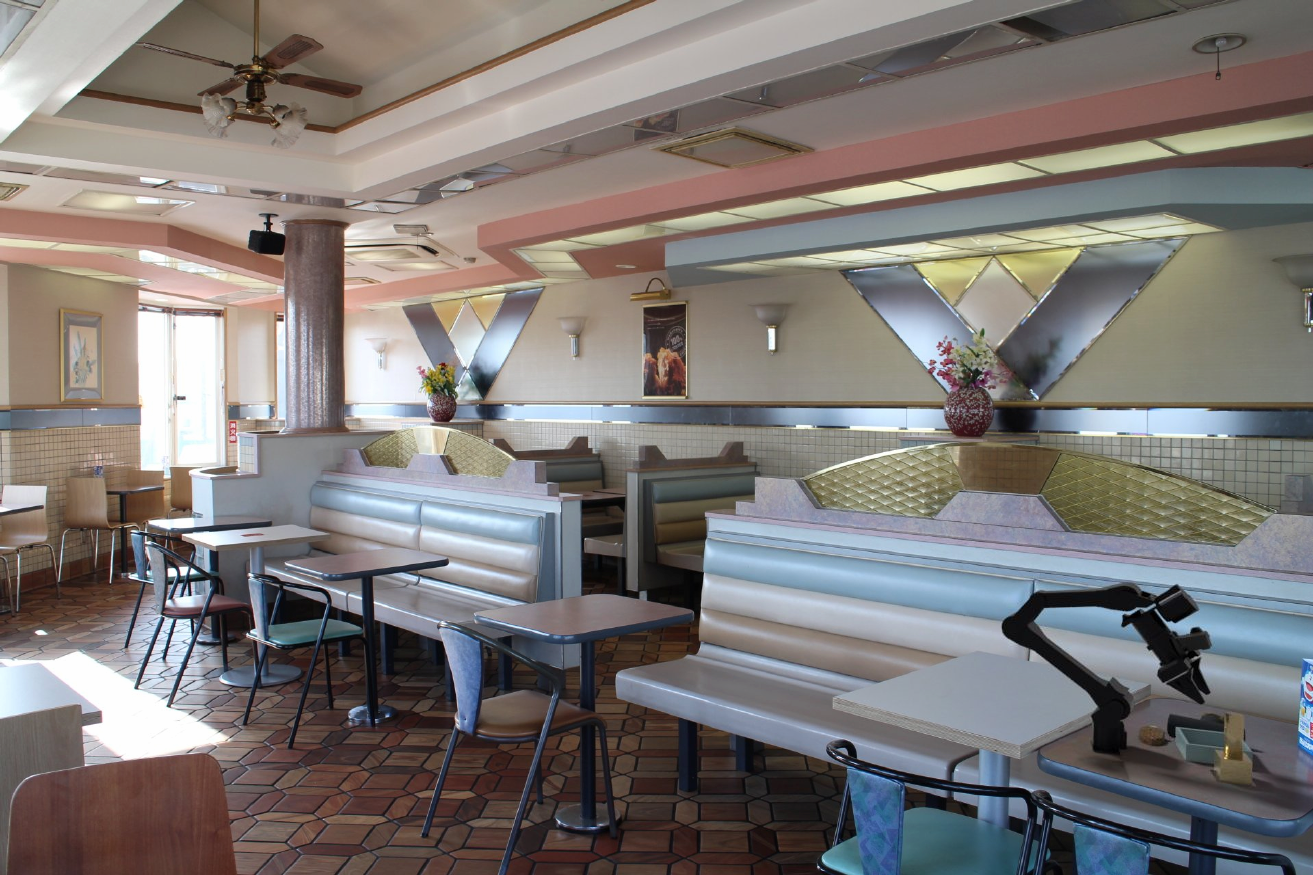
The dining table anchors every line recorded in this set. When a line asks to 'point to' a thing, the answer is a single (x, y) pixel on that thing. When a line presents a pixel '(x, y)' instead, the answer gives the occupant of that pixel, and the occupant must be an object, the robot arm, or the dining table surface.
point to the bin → (1202, 744)
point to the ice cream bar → (1151, 735)
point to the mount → (1229, 782)
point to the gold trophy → (1233, 752)
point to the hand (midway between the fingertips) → (1206, 698)
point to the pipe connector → (1197, 723)
